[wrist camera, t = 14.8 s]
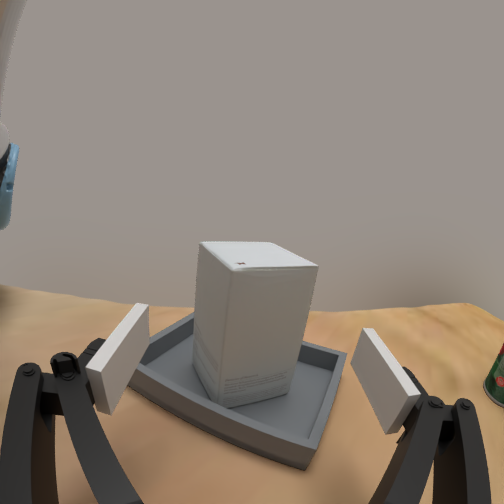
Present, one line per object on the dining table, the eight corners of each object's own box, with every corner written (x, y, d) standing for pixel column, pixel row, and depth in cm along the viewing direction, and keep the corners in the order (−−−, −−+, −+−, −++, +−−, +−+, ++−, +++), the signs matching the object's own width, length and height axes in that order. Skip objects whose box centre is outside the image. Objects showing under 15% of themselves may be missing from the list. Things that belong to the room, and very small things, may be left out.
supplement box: (290, 394, 24) (323, 265, 20) (214, 412, 20) (229, 267, 17) (255, 352, 30) (273, 240, 27) (190, 361, 27) (197, 238, 23)
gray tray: (120, 380, 22) (117, 356, 22) (200, 327, 35) (202, 307, 34) (304, 470, 16) (316, 449, 15) (339, 374, 28) (347, 353, 27)
